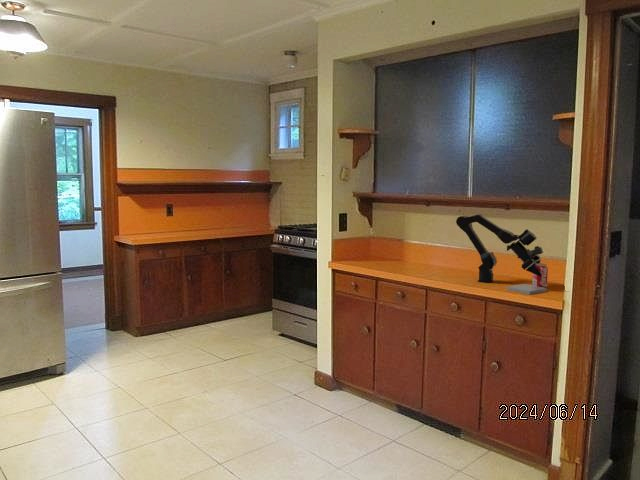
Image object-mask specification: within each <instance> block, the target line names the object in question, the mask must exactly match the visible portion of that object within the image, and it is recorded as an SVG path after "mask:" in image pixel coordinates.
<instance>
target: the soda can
mask: <svg viewBox="0 0 640 480" xmlns="http://www.w3.org/2000/svg"><path fill="white" fill-rule="evenodd" d="M536 267H537V269H538V270H539V271H540V273H541V274H542V276H541V277H540V276H538V275H535V274H533V273H532V281H531V282H532V286H537V287H542V288H547V286H548V274H549V272H548V271H549V268H548V266H547V264H546V263H541V262H540V263H536Z"/></svg>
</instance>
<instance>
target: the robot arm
mask: <svg viewBox="0 0 640 480" xmlns="http://www.w3.org/2000/svg"><path fill="white" fill-rule="evenodd" d="M455 221H456V222H455V223H456V225H457V226H458V227H459V229H461V231H463V232H464V233H465V234H466V236H467V237H468V239H469V240H470V242H471V243H472V245H473V246H474V248H475V249H476V251H477V252H478V254H479V257H480V261H481V263H482V264H480V265H479V266H478V270H479V271H478V280H477V282H480V283H487V284H489V283H493V282H495V281H494V273H493V271H494V270H493V268H494V267H496V265H497V263H498V260H497V256H496V255H495V253H494V252H493V251H492V252H489V250H487V248H486V246H485V244H484V243H483V242H482V240H481V239H480V237H479V236H478V234H477V233H476V232H475V231H476V230H474V228H473V223H478V224H480V225H481V226H482V227H484V228H486V229H487V230H488V231H490V232H491V233H493V234H495V235H496V237H497V238H498V240H500V241H501V242H502V243H503V244H506V251H510V250H511V251H512V252H513V253H514V254H515V255H516V256H517V259H518V260H519V259H520V260H521V262H522V264H521V269H522V270H523V271H527V272H530V273H531V274H532V275H533V274H535V275H538V276H540V277H541V276H542V274H541V273H540V271H539V270H538V269H537V267H536V263H541V262H542V261H541V260H542V259H541V256H540V255H541V254H544V251H543V247H541V246H538V245H537V246H535V247H534V249H529V248H526V247H525V246H527V247H528V246H530V245H531V244H532V243H533V242H535V241H536V240H537V239H538V238H537V236H536V235H535V234H534V233H533V232H531V231H530V230H529V229H526V228H525V230H524V231H523V232H522V233H520V235H518V234H515V233H514V232H512V231H510V230H507V229H505V228H502V227H500V226H498V225H496V224H495V223H493V222H492V221H491V220H489V219H487V218H486V217H485V216H483V214H475V215H472V216H467V215H462V216H458V217H457V218H456V220H455ZM510 243H511V244H510ZM507 244H508V245H507Z"/></svg>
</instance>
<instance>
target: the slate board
mask: <svg viewBox="0 0 640 480" xmlns="http://www.w3.org/2000/svg"><path fill="white" fill-rule="evenodd" d="M506 288H507V290H508V291H512V292H516V293H521V294H524V295H525V294H526V295H534V294H539V293H546V292H548V288H547V287H545V288H542V287H537V286H532V285H531V284H526V283H523V284H521V283H520V284H516V285H508V286H507V287H506Z"/></svg>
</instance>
